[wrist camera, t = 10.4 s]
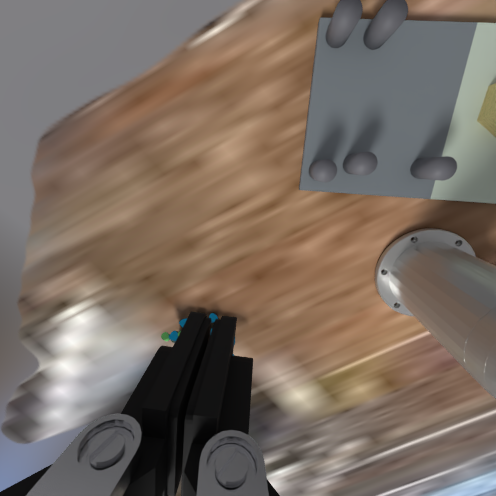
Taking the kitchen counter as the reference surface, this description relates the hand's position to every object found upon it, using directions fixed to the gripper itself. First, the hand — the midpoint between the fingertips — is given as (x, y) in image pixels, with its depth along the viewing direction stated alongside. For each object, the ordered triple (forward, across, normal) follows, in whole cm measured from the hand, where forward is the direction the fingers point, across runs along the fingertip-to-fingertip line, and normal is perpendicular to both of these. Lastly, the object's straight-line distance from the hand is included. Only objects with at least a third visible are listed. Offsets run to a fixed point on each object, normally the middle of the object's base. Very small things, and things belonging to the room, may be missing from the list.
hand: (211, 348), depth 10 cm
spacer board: (+27, -22, -14) cm, 38 cm away
